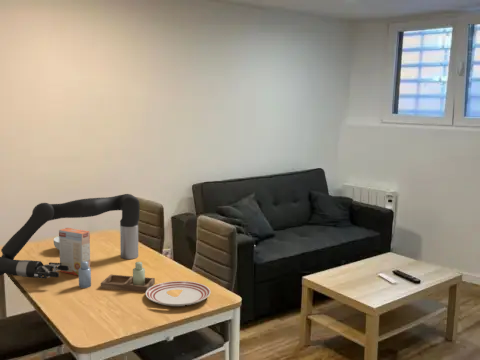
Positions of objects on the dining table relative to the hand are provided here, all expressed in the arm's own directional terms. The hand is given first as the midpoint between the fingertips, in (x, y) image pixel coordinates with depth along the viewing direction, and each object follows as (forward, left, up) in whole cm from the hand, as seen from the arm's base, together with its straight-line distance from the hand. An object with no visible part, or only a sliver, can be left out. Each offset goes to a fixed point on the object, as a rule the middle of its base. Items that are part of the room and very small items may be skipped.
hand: (63, 271), depth 227 cm
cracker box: (-15, -2, -6) cm, 16 cm away
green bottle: (-3, +34, -5) cm, 35 cm away
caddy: (-3, +29, -6) cm, 30 cm away
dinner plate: (+4, +54, -6) cm, 55 cm away
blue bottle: (0, +10, -6) cm, 12 cm away
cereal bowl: (-47, -21, -6) cm, 52 cm away
